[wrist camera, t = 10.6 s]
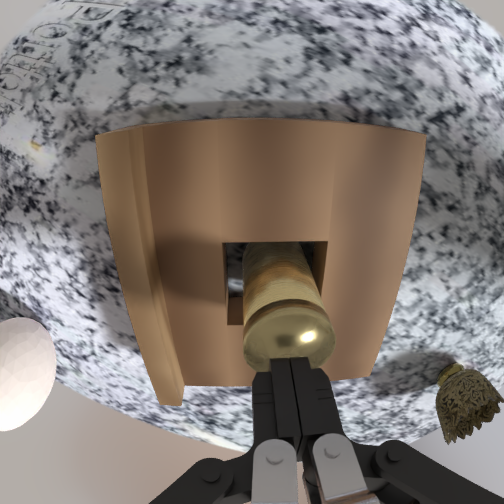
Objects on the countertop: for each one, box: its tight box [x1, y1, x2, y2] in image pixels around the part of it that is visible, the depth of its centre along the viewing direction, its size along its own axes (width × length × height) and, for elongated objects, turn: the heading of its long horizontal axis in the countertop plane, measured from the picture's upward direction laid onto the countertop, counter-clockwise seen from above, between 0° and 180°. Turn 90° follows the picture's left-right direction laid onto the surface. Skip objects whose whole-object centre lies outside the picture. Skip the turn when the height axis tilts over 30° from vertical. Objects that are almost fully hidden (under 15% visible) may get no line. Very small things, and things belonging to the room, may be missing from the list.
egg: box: [0, 317, 57, 431], centre depth 17 cm, size 7×7×12 cm
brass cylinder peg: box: [242, 241, 336, 372], centre depth 16 cm, size 4×4×8 cm
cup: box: [436, 363, 504, 445], centre depth 24 cm, size 7×7×8 cm
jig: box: [95, 118, 427, 406], centre depth 18 cm, size 16×18×5 cm
